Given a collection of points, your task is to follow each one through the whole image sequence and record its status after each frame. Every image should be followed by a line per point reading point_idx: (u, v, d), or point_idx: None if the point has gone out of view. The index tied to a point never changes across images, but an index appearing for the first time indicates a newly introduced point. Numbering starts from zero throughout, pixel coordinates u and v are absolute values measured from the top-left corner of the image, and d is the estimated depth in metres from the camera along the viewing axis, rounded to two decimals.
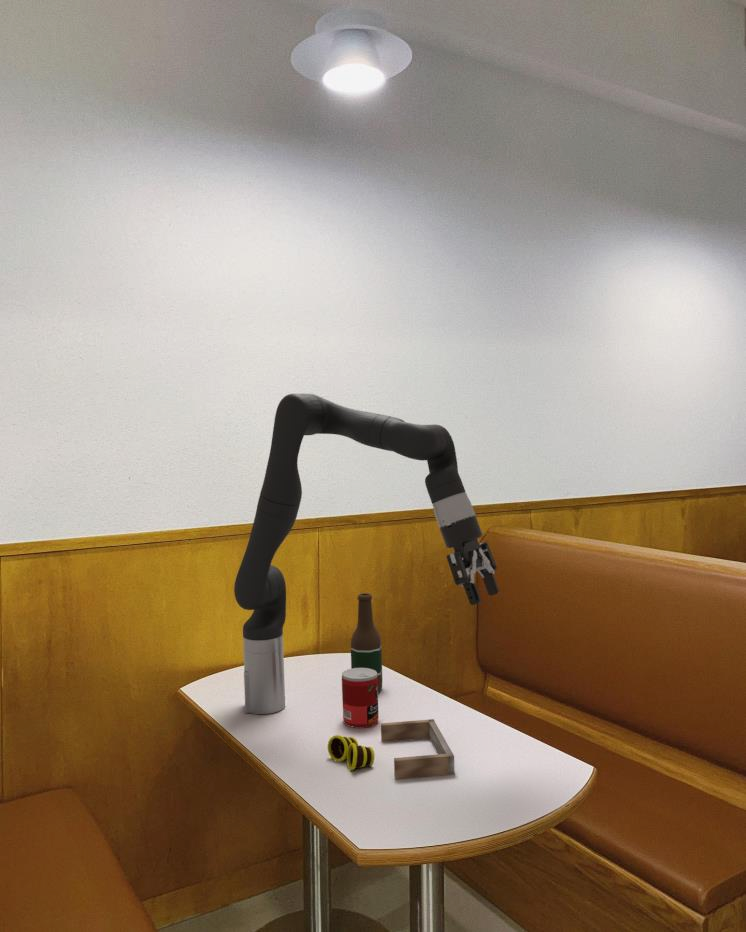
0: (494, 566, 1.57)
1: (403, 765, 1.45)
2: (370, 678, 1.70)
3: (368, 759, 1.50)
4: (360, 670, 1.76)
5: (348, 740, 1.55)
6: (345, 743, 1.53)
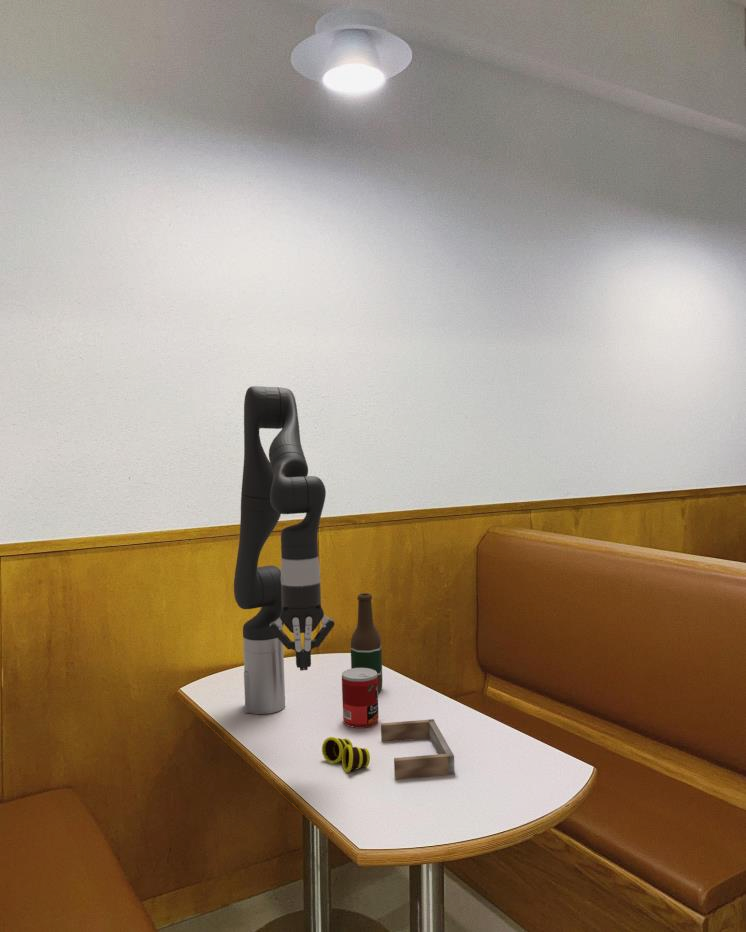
0: (314, 644, 1.50)
1: (403, 765, 1.45)
2: (370, 678, 1.70)
3: (364, 761, 1.49)
4: (360, 670, 1.76)
5: (343, 742, 1.54)
6: (340, 745, 1.52)
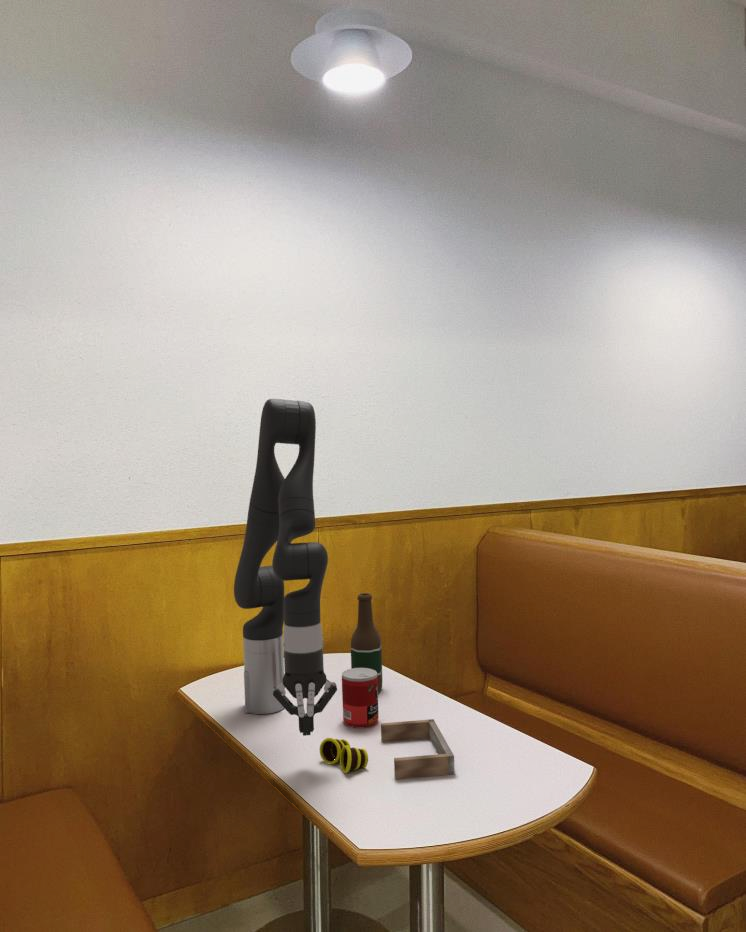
0: (317, 709, 1.51)
1: (403, 765, 1.45)
2: (370, 678, 1.70)
3: (362, 761, 1.49)
4: (360, 670, 1.76)
5: (340, 742, 1.54)
6: (338, 746, 1.52)
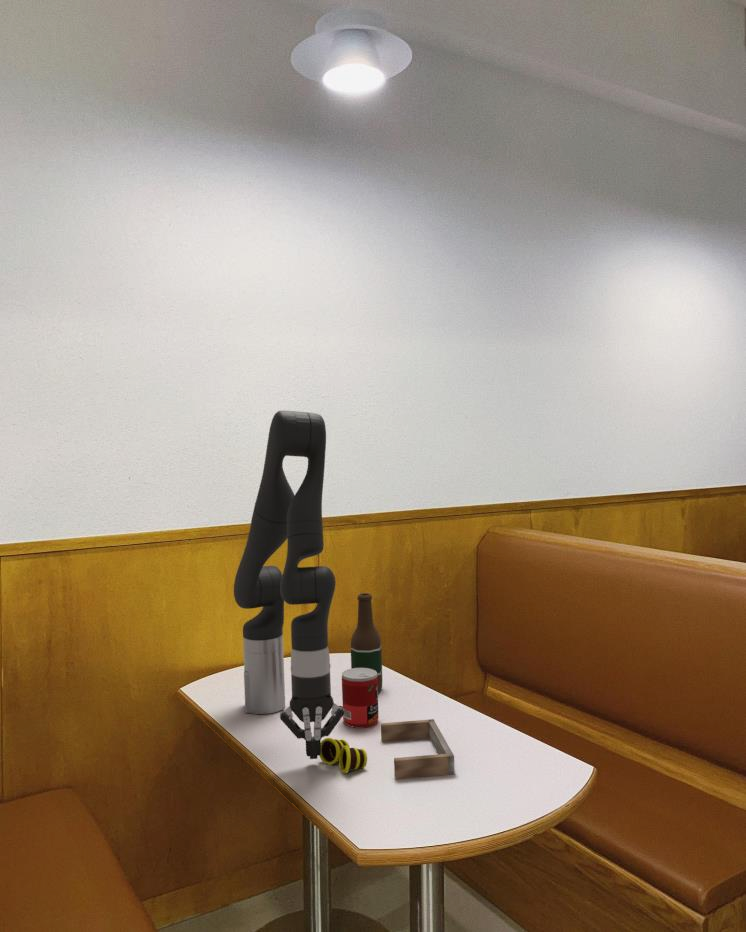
0: (324, 733, 1.51)
1: (403, 765, 1.45)
2: (370, 678, 1.70)
3: (361, 762, 1.49)
4: (360, 670, 1.76)
5: (339, 743, 1.54)
6: (337, 746, 1.52)
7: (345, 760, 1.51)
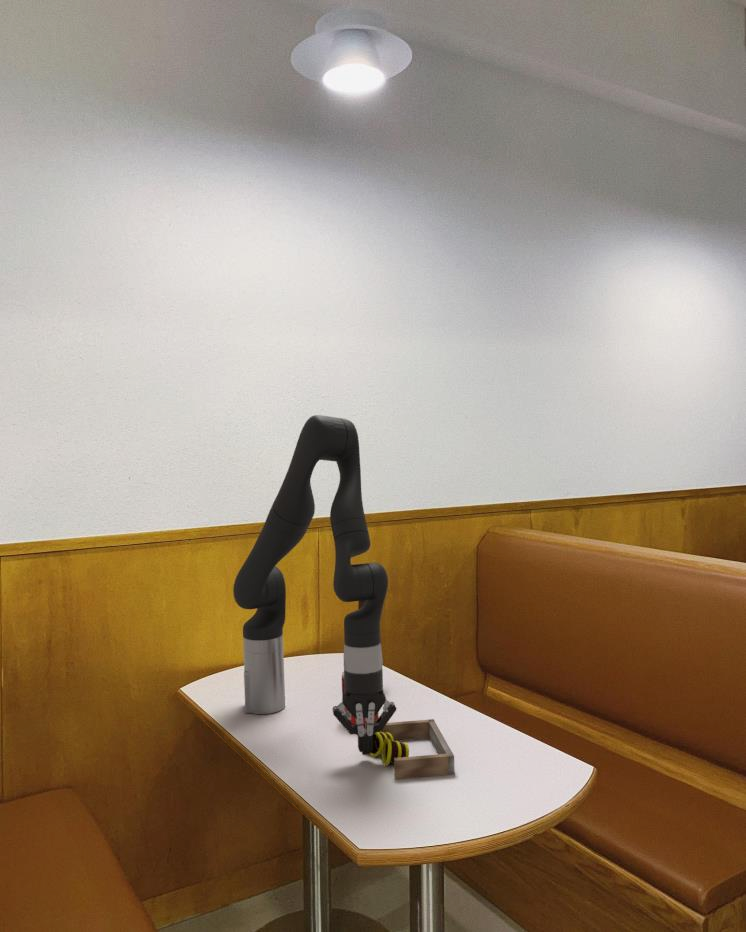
0: (377, 728, 1.52)
1: (403, 765, 1.45)
2: None
3: (402, 755, 1.51)
4: None
5: (383, 735, 1.57)
6: (380, 738, 1.55)
7: (388, 753, 1.54)
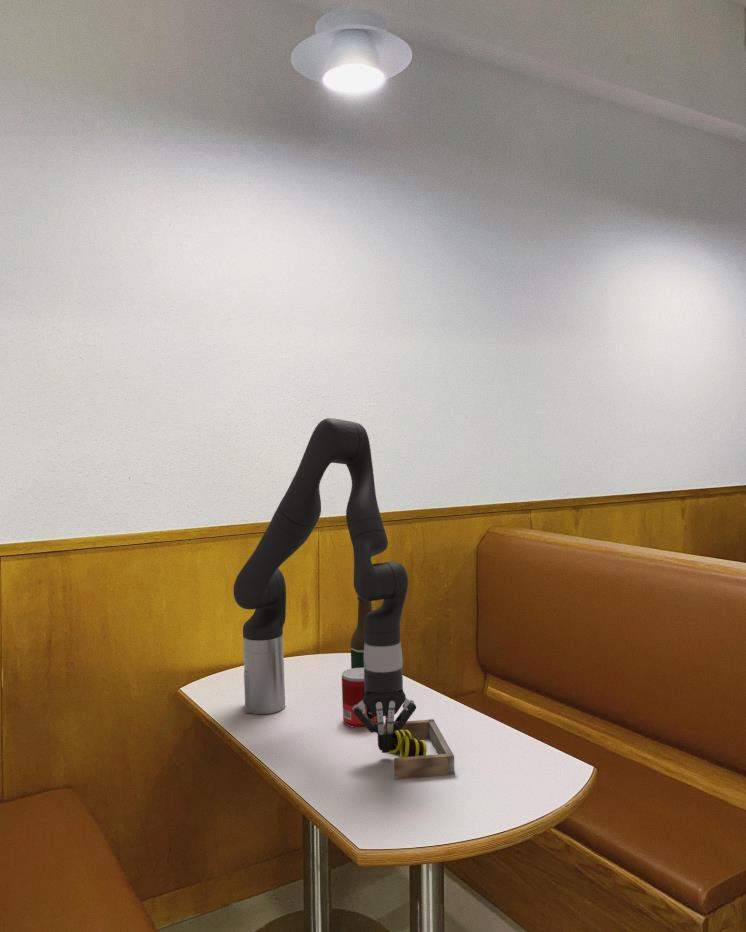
0: (396, 727, 1.53)
1: (403, 765, 1.45)
2: None
3: (420, 752, 1.52)
4: (360, 670, 1.76)
5: (402, 733, 1.58)
6: (398, 735, 1.56)
7: None
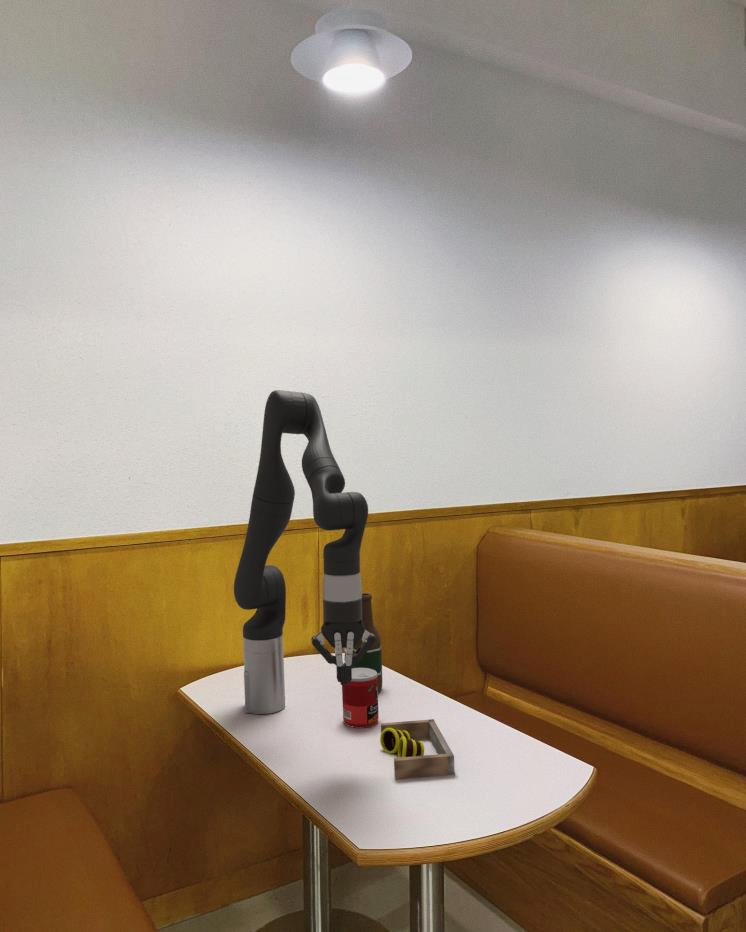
0: (355, 658, 1.51)
1: (403, 765, 1.45)
2: (370, 678, 1.70)
3: (418, 753, 1.52)
4: (360, 670, 1.76)
5: (400, 733, 1.57)
6: (396, 736, 1.56)
7: None
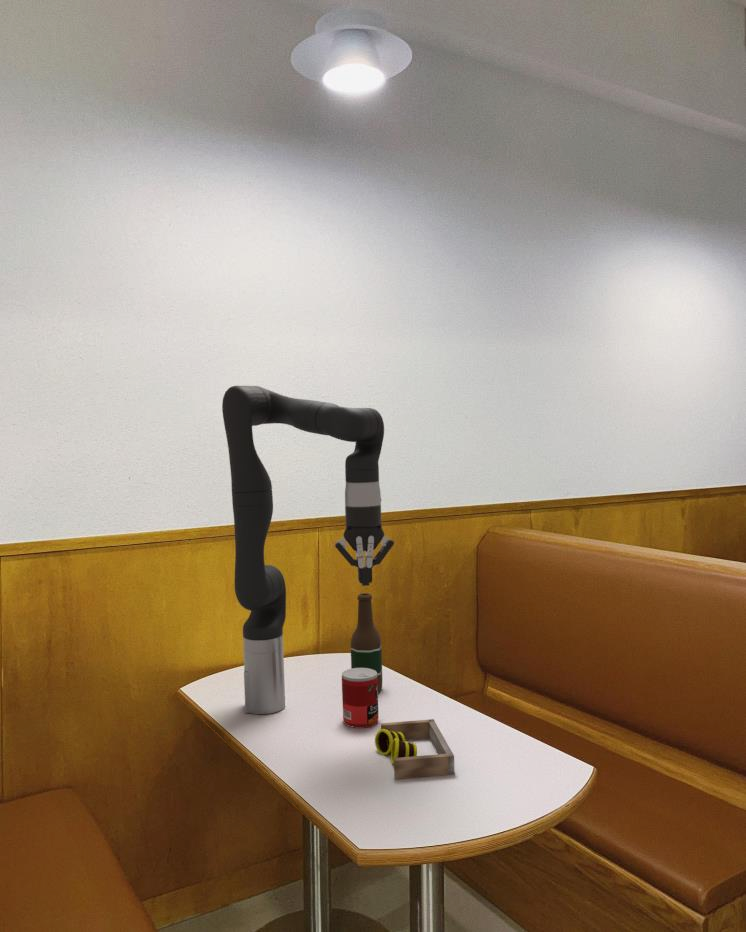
0: (375, 561, 1.64)
1: (403, 765, 1.45)
2: (370, 678, 1.70)
3: (410, 755, 1.51)
4: (360, 670, 1.76)
5: (394, 735, 1.57)
6: (390, 737, 1.55)
7: None
